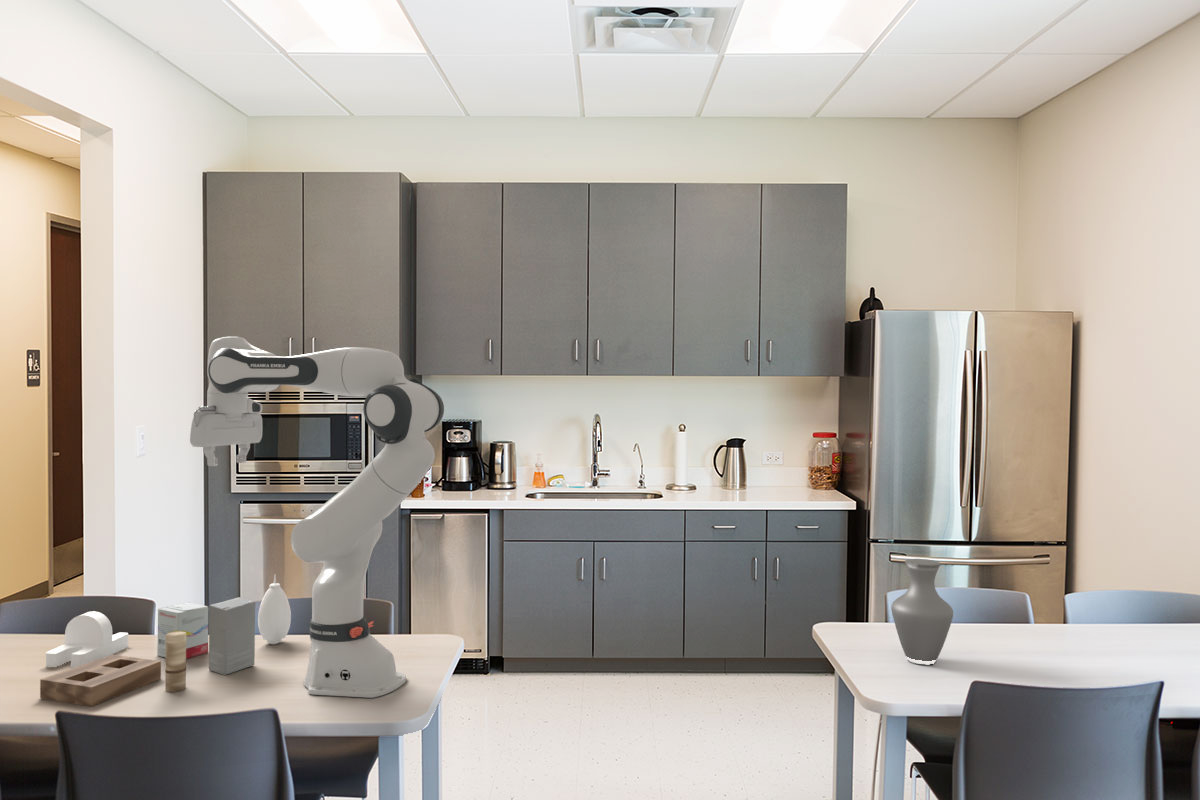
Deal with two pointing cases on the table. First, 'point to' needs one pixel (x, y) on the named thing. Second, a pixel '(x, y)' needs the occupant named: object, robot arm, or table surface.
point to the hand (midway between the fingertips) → (227, 464)
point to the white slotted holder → (87, 641)
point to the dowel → (175, 662)
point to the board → (100, 680)
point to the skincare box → (231, 635)
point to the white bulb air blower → (274, 614)
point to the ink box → (184, 627)
